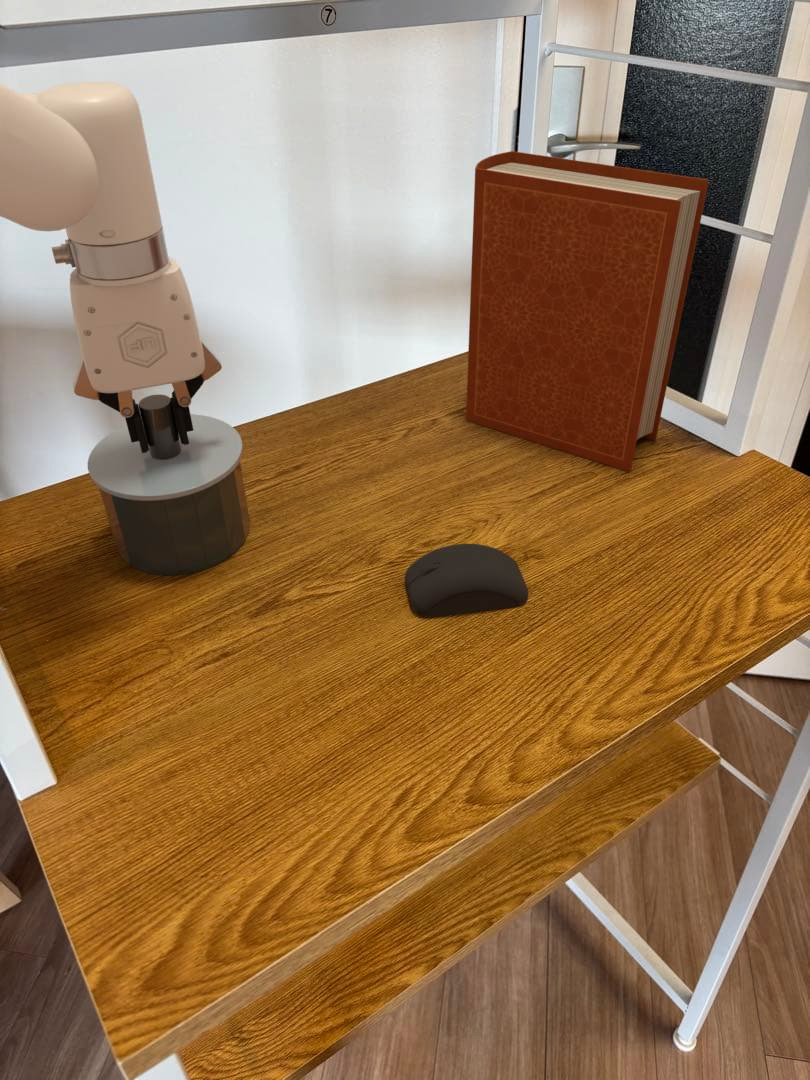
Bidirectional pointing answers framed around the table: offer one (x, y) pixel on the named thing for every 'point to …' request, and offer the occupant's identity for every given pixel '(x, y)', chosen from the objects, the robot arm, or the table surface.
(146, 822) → the table surface
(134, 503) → the tin
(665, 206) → the book
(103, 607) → the table surface
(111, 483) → the lid
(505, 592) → the computer mouse
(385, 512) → the table surface
